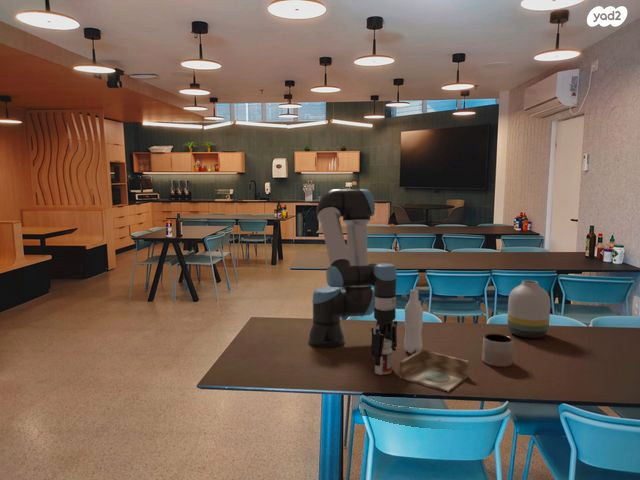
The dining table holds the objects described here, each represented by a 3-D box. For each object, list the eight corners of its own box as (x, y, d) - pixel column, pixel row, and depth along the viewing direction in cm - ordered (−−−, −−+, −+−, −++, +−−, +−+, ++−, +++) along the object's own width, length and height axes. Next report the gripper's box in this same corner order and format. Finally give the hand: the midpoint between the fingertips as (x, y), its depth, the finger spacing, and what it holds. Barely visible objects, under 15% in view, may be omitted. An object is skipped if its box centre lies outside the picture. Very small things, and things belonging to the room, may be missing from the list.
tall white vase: (422, 355, 185) (423, 292, 182) (403, 353, 187) (404, 292, 184) (421, 348, 192) (423, 288, 189) (404, 347, 194) (405, 287, 191)
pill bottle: (371, 371, 169) (371, 341, 167) (380, 366, 174) (381, 336, 172) (386, 376, 165) (386, 345, 163) (395, 371, 170) (396, 340, 168)
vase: (550, 332, 213) (553, 280, 210) (545, 343, 198) (548, 287, 195) (510, 326, 222) (513, 276, 219) (503, 336, 207) (505, 282, 204)
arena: (399, 377, 164) (399, 361, 163) (421, 364, 176) (421, 349, 175) (448, 392, 152) (448, 375, 152) (468, 376, 165) (468, 360, 164)
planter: (498, 370, 171) (499, 344, 170) (475, 360, 180) (476, 335, 179) (519, 364, 176) (520, 339, 175) (496, 355, 185) (497, 331, 184)
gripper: (379, 315, 156) (378, 382, 159) (407, 304, 171) (406, 365, 174) (360, 311, 161) (359, 376, 164) (389, 300, 176) (388, 360, 179)
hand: (383, 370), depth 169 cm, fingers closed on pill bottle, 6 cm apart
